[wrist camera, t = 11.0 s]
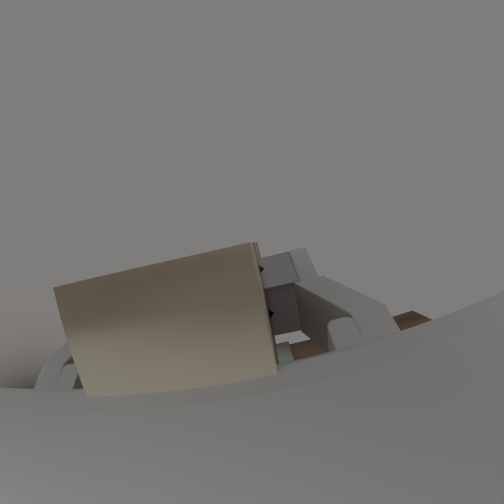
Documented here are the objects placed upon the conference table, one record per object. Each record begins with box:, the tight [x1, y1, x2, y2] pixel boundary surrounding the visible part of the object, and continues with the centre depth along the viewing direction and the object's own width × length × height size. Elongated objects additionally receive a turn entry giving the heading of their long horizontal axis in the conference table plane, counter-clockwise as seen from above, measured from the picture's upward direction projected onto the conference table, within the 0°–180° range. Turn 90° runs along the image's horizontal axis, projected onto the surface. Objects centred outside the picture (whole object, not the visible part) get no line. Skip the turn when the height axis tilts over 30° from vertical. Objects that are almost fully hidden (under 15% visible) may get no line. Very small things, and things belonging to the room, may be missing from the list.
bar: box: [54, 242, 279, 397], centre depth 16 cm, size 22×4×3 cm, turn 179°
